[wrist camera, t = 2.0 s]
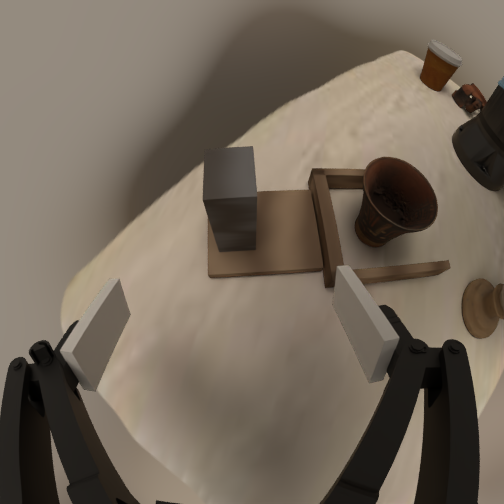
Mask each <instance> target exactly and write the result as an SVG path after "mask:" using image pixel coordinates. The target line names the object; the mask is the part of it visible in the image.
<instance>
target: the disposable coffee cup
mask: <svg viewBox="0 0 504 504" xmlns="http://www.w3.org/2000/svg"><path fill="white" fill-rule="evenodd" d="M461 62H462V58H461V57H460V56H459V55H458V54H457V53H456V52H455V51H454V50H452V49H451V48H449V47H448V46H446V45H445V44H443V43H441V42H439V41H436V40H431V41H430V42H429V43H428V51H427V55H426V58H425V62H424V65H423V69H422V73H421V76H420V79H421V81H422V82H423V83H424V84H425V85H427V86H428V87H430V88H431V89H433V90H435V91H441V89H442V88H443V87H444V86H445V84H446V83H447V82H448V81H449V79H450V78H451V77H452V75H453V74H454V73H455V71H456V70H457V69H458V67H460V66H462V63H461Z"/></svg>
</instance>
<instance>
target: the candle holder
mask: <svg viewBox="0 0 504 504" xmlns="http://www.w3.org/2000/svg"><path fill="white" fill-rule="evenodd" d="M462 313H463V318H464V322H465V325H466V327H467V329H468V331H469V332H470V333H471V334H472V335H473V336H474V337H476V338H486V337H488V336H490V335H491V334H492V333H493V332H494V330H495V329H496V327H497V324H498V321H499V318H501V319H504V284H498V285H497V286H496V287H495V288H494V287H493V286H492V285H491V283H490V282H488V281H487V280H485V279H481V278H480V279H476V280H474V281H472V282H471V283H470V284H469V285H468V286H467V288H466V290H465V292H464V296H463V301H462Z"/></svg>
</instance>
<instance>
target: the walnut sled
mask: <svg viewBox="0 0 504 504" xmlns="http://www.w3.org/2000/svg"><path fill="white" fill-rule="evenodd" d="M364 171H365V170H363V169H322V168H312V171H311V174H310V177H309V181H308V184H309V189H310V190H288V191H262V192H257V188H256V176H255V164H254V153H253V146H250V147H232V148H218V149H206V150H205V157H204V179H203V202H204V206H205V209H206V212H207V215H208V275H209V277H210V278H215V277H233V276H251V275H267V274H283V273H298V272H312V271H321V270H322V269H323V274H324V281H325V288H328V287H335V280H336V270H337V266H344V263H343V257H342V252H341V246H340V241H339V235H338V230H337V225H336V220H335V215H334V210H333V206H332V201H331V197H330V192H329V188H363V175H364ZM449 268H450V264H449V260H447V261H438V262H429V263H420V264H410V265H400V266H389V267H379V268H368V269H356V270H353V271H354V273H355V274H356V276H357V277H358V278H359V280H360V281H361V282H362V284H368V283H377V282H386V281H394V280H403V279H411V278H418V277H426V276H433V275H438V274H440V273H442V272H444V271H446V270H448V269H449Z"/></svg>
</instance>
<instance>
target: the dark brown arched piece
mask: <svg viewBox="0 0 504 504" xmlns="http://www.w3.org/2000/svg"><path fill="white" fill-rule="evenodd" d="M470 95H472V96H473V97H472V98H470ZM452 96H453V97H454V99H455V101H456V102H457V104H458V105H459V107H460V108H461V107H462V106H464V105H465V108H466V110H467V111H468V112H470V113H472V112H474V111H475V110H478V109H479V108H480V111H481V110H482V108H483V107H484V106H485V104H486V103H487V102H486V100H485V98H484V96H483V95H482V93H481V92H480V90H479V89H478V88H477V87H476V86H475V85H474V84H473V83H472V84H471V85H469V84H466V85H463V86H462V87H461V88H460V89H459V90H458V91H457V90H456V91H455V92H454V93H453V94H452Z"/></svg>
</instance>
